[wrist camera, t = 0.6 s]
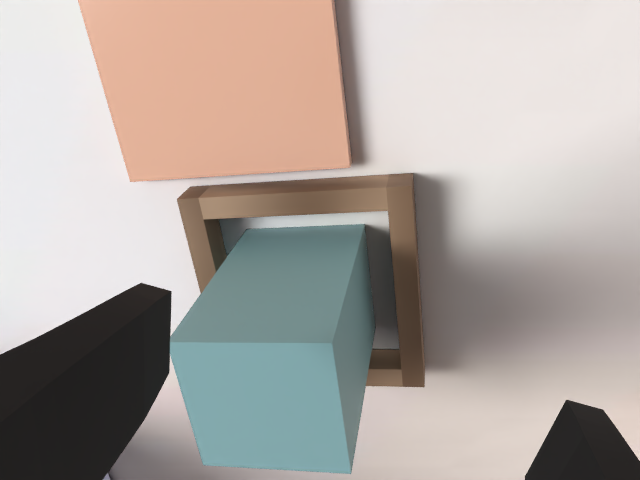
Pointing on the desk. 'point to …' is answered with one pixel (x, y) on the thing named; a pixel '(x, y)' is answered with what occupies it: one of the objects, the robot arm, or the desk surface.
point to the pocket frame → (323, 198)
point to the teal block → (280, 351)
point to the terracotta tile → (221, 85)
